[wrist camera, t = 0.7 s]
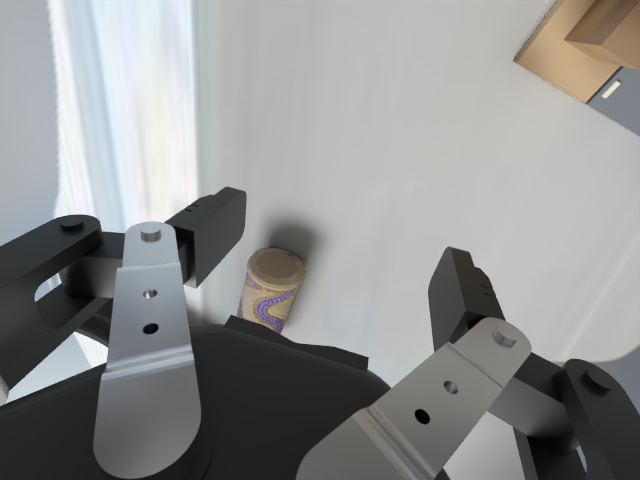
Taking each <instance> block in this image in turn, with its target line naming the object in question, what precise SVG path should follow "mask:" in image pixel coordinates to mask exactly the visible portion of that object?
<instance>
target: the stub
mask: <svg viewBox="0 0 640 480" xmlns="http://www.w3.org/2000/svg"><path fill="white" fill-rule="evenodd" d="M513 61H514V62H516V63H517V64H519V65H521V66H522V67H524V68H526V69H527V70H529V71H531V72H532V73H534V74H536V75H537V76H539V77H541V78H542V79H544V80H546V81H547V82H549V83H551V84H552V85H554V86H556V87H558V88H559V89H561V90H563V91H564V92H566V93H568V94H569V95H571V96H573V97H574V98H576V99H578V100H580V101H582V102H584V103H586V102H587V101H588V100H589V98H590V97H591V96H592V95H593V94H594V93H595V92H596V91H597V90H598V89H599V88H600V87H601V86H602V85H603V84H604V83H605V82H606V81H607V80H608V79H609V77H610V76H611V75H612V74H613V73H614V72H615V71H616V70H617V69H618V68H619V67H620V66H624V67H628V68H633V69H637V70H640V0H558V1H557V2H556V4H555V5H554V6H553V8H552V9H551V10H550V12H549V13H548V14H547V16H546V17H545V18H544V20H543V21H542V22H541V24H540V25H539V26H538V28H537V29H536V30H535V32H534V33H533V34H532V36H531V37H530V38H529V40H528V41H527V42H526V44H525V45H524V46H523V48H522V49H521V50H520V52H519V53H518V55H517V56H516V57H515V59H514V60H513Z"/></svg>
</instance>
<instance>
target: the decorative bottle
mask: <svg viewBox="0 0 640 480" xmlns="http://www.w3.org/2000/svg"><path fill="white" fill-rule="evenodd" d="M247 268H248V271H247V276H246V280H245V285H244V289H243V293H242V297H241V300H240V306H239V309H238V313H237V316H236V317H240V318H243V319H246V320H249V321H253V322H256V323H259V324H262V325H265V326H266V327H268V328H270V329H272V330H273V331H275V332H277V333H279V334H281V331H282V329H283V326H284V324H285V322H286V319H287V316H288V314H289V311H290V308H291V305H292V303H293V300H294V298H295V295H296V293H297V291H298V288H299V286H300V284H301V282H302V281H303V279H304V276H305V267H304V265H303V262H302V261H301V260H300V259H299V258H298V257H297V256H296V255H294V254H293V253H291V252H289V251H285V250H282V249H278V248H266V249H260V250H258V251H256V252H255V253H254V254H253V255H252V256H251V257H250V259H249V261H248V263H247Z"/></svg>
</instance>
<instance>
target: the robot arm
mask: <svg viewBox="0 0 640 480" xmlns="http://www.w3.org/2000/svg"><path fill="white" fill-rule="evenodd" d="M245 215H246V192H245V191H242V190H238V189H234V188H231V187H225V188H223V189H222V190H221V191H219V192H218V193H216V194H215V195H208V196H205V197H202V198H199V199H197V200H196V201H195V202H193V203H192V204H191V205H189V206H187V207H186V208H185V209H184V210H182V211H180V212H179V213H177V214H176V215H174V216H173V217H171V218H170V219H169V220H167V221H166V222H164V223H162V222H144V223H140V224H137V225H134V226H132V227H131V228H129V229H128V230H127V231H126V233H114V232H102V229H101V225H100V221H99V220H98V219H97V218H95V217H93V216H89V215H68V216H63V217H59V218H56V219H53V220H51V221H49V222H47V223H46V224H43V225H41V226H39V227H37V228H36V229H33V230H31V231H30V232H28V233H26V234H24V235H22V236H20V237H18V238H16V239H14V240H12V241H10V242H8V243H6V244H4V245H3V246H0V480H450V478H449V476H448V475H447V473H446V472H445V470H444V468H443V466H444V465H445V464H446V463H447V461H448V460H449V459H450V457H451V456H452V455H453V454H454V452H455V451H456V450H457V448H458V447H459V446H460V444H461V443H462V442H463V441H464V439H465V438H466V437H467V435H468V434H469V433H470V432H471V430H472V429H473V428H474V426H475V425H476V424H477V423H478V421H479V420H480V419H481V417H482V416H483V415H484V414H485V412H486V411H488V412H490V413H491V414H493V415H495V416H496V417H498V418H500V419H501V420H503V421H504V422H506V423H508V424H510V425H511V426H513V430H514V434H515V438H516V442H517V446H518V451H519V455H520V459H521V463H522V467H523V471H524V476H525V480H640V415H639V413H638V412H637V410H636V408H635V407H634V405H633V403H632V402H631V400H630V399H629V397H628V395H627V393H626V392H625V390H624V389H623V388H622V387H621V385H620V384H619V383H618V382H617V381H616V380H615V379H614V378H613V377H612V376H610V375H609V374H608V373H606V372H605V371H604V370H602V369H601V368H599V367H597V366H595V365H594V364H592V363H589V362H587V361H584V360H580V359H570V360H568V361H567V362H566V363H565V364H564V365H563V366H562V367H559V366H557V365H555V364H553V363H551V362H550V361H548V360H546V359H544V358H542V357H540V356H538V355H536V354H534V353H532V352H531V351H532V347H531V344H530V342H529V340H528V339H527V337H526V336H525V335H524V334H523V333H522V332H521V331H520V330H519V329H517V328H516V327H515V326H513V325H512V324H510V323H508V322H506V320H505V318H504V315H503V313H502V310H501V307H500V305H499V302H498V300H497V298H496V295H495V292H494V290H492V289H493V287H492V284H491V282H490V279H489V278H488V277H487V275H486V274H485V273H484V272H483V271H482V270H481V269H480V268H477V267H474V264H473V261H472V258H471V255H470V253H469V252H467V251H464V250H460V249H456V248H453V247H447V248H446V249H445V251H444V253H443V255H442V257H441V259H440V261H439V263H438V266H437V268H436V270H435V272H434V274H433V276H432V278H431V281H430V284H429V289H428V298H429V307H430V317H431V326H432V335H433V345H434V353H433V354H432V355H431V356H430V357H429V358H427V359H426V360H425V361H424V362H423V363H421V364H420V365H419V366H418V367H417V368H415V369H414V370H413V371H412V372H411V373H409V374H408V375H407V376H406V377H405V378H403V379H402V380H401V381H400V382H399V383H397V384H396V385H395V386H394V387H393V388H391V387H390V386H389V385H388V384H387V383H386V382H384V381H383V380H382V379H381V378H380V377H378V376H377V375H376V374H374V373H373V372H371V371H369V370H368V369H367V368H368V359H369V357H365V356H362V355H359V354H356V353H352V352H349V351H346V350H343V349H340V348H336V347H332V346H321V345H310V344H299V343H295V342H293V341H291V340H289V339H287V338H286V337H284V336H282V335H280V334H279V333H277V332H275V331H273V330H272V329H270V328H268V327H266V326H265V325H262V324H259V323H256V322H253V321H249V320H246V319H243V318H240V317H236V316H233V315H231V316H230V317H229V319H228V320H227V322H226V323H225V325H221V324H215V325H203V326H198V327H194V328H190V329H189V324H188V316H187V309H186V301H185V294H184V287H183V285H187V286H190V287H193V288H197V287H198V286H199V285H200V284H201V283H202V282H203V280H204V279H205V278H206V277H207V276H208V275H209V274H210V273H211V272H212V270H213V269H214V268H215V267H216V266H217V265H218V264H219V263H220V261H221V260H222V259H223V258H224V257H225V256H226V255H227V254H228V252H229V251H230V250H231V249H232V248H233V247H234V246H235V245H236V244H237V242H238V241H239V240H240V239H241V237H242V235H243V232H244V228H245ZM56 273H59V276H60V279H61V282H62V283H61V284H60V285H58V286H57V287H56V288H54V289H53V290H52V291H50V292H49V293H47V294H46V295H45V296H43V297H42V298H40V299H39V300H38V301H36V302H35V300H34V296H35V292H36V290H37V289H38V287H39V286H40V285H41V284H42V283H43V282H45V281H46V280H48V279H49V278H51V277H52V276H54V275H55V274H56ZM111 298H114V300H113V310H112V319H111V329H110V338H109V347H108V357H107V362H106V363H104V364H101V365H99V366H96V367H94V368H92V369H89V370H87V371H84V372H82V373H79V374H77V375H75V376H72V377H70V378H68V379H65V380H62V381H60V382H58V383H55V384H53V385H50V386H48V387H46V388H43V389H41V390H38V391H36V392H33V393H31V394H29V395H26V396H24V397H21V398H19V399H17V400H14V401H12V402H9V403H7V404H5V402H6V400H7V398H8V394H9V391H10V390H11V389H12V388H13V387H14V386H15V385H16V384H17V383H19V382H20V381H21V380H22V379H23V378H24V377H25V376H26V375H27V374H28V373H29V372H30V371H32V370H33V369H34V368H35V367H36V366H37V365H38V364H39V363H40V362H42V361H43V359H45V358H46V357H47V356H48V355H49V354H50V353H51V352H53V351H54V350H55V349H56V348H57V347H58V346H59V345H60V344H61V343H62V342H63V341H65V340H66V339H67V338H68V337H69V336H70V335H71V334H72V333H73V332H74V331H76V330H77V329H78V328H79V327H80V326H81V325H82V324H83V323H84V322H85V321H87V320H88V319H89V318H90V317H91V316H92V315H93V314H94V313H95V312H96V311H98V310H99V309H100V308H101V307H102V306H103V305H104V304H105V303H106V302H107V301H109V300H110V299H111ZM578 446H581V449H582V451H583V454H584V456H585V459H586V464H587V472H585V470H584V467H583V465H582V462H581V459H580V457H579V454H578V452H577V449H576V448H577V447H578Z"/></svg>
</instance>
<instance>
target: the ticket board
mask: <svg viewBox="0 0 640 480" xmlns="http://www.w3.org/2000/svg"><path fill="white" fill-rule="evenodd" d="M581 102H582V101H581ZM583 103H584V102H583ZM584 104H586V105H588V106H589V107H591V108H593V109H594V110H596V111H598V112H599V113H601V114H603V115H604V116H606V117H608V118H609V119H611V120H613V121H615V122H616V123H618V124H620V125H621V126H623V127H625V128H626V129H628V130H630V131H631V132H633V133H635V134H636V135H638V136H640V70H637V69H633V68H628V67H624V66H620V67H619V68H618V69H617V70H616V71H615V72H614V73H613V74H612V75H611V76H610V77H609V79H608V80H607V81H606V82H605V83H604V84H603V85H602V86H601V87H600V88H599V89H598V90H597V91H596V92H595V93H594V94H593V95H592V96H591V97H590V98H589V100H588V101H587V102H586V103H584Z"/></svg>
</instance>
